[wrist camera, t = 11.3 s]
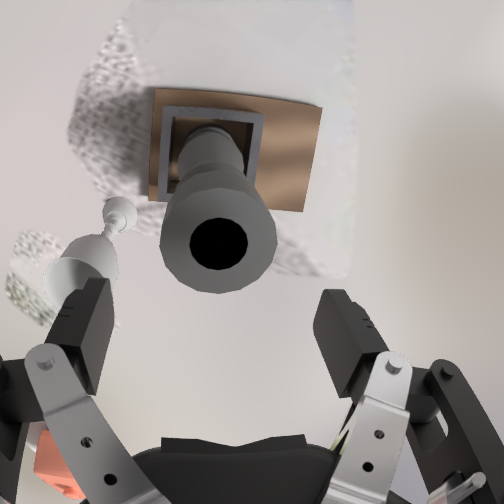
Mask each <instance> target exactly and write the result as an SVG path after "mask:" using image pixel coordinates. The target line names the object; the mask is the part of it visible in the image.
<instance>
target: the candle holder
mask: <svg viewBox="0 0 504 504" xmlns="http://www.w3.org/2000/svg"><path fill="white" fill-rule="evenodd" d="M243 170H244V163H243V157H242V154H241V152H240V151H239V149H238V148H237V146H236V143H235V141H234V140H233V138H232V137H231V135H230V133H229V132H228V131H227V130H226V129H224V128H223V127H221V126H220V125H216V124H210V123H208V124H203V125H199V126H197V127H196V128H194V129H193V130H191V131H190V132H189V134H188V135H187V137H186V138H185V140H184V143H183V147H182V152H181V153H180V155H179V160H178V165H177V171H178V175H179V180H180V182H179V183H178V185H177V186H176V191H175V193H174V194H173V196H172V197H171V199H170V200H169V202H168V205H167V209H166V213H165V216H164V220H163V224H162V230H161V238H160V246H159V247H160V250H161V253H162V256H163V260H164V263H165V266H166V267H167V268H168V269H169V271H170V272H171V273H172V274H173V275H174V276H175V277H176V278H177V280H178V281H179V282H181V283H183V284H185V285H187V286H189V287H191V288H193V289H195V290H197V291H201V292H208V293H216V294H220V293H226V292H231V291H236V290H240V289H242V288H244V287H245V286H247V285H249V284H251V283H252V282H254V281H256V280H257V279H259V278H260V276H261V275H262V274H263V273H264V272H265V270H266V269H267V268H268V267H269V266H270V264H271V263H272V260H273V257H274V254H275V250H276V247H277V244H278V243H277V235H276V227H275V222H274V220H273V218H272V216H271V214H270V212H269V210H268V209H267V207H266V205H265V203H264V201H263V199H262V198H261V196H260V195H259V193H258V191H257V190H256V188H255V187H254V185H253V184H251V183H250V182H249V181H248V179H247V178H246V176H245V175H244V173H243Z"/></svg>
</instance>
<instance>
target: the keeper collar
mask: <svg viewBox="0 0 504 504" xmlns="http://www.w3.org/2000/svg"><path fill="white" fill-rule="evenodd" d="M176 116H180V117H196V118H209V119H220V120H231V121H240V122H248V124H247V131H246V138H245V146H244V153H243V163H244V170H243V173H244V175H245V176H246V178H247V179H248V181H249V182H250V183H251V184H253V185H254V186H255V179H256V172H257V165H258V159H259V152H260V145H261V138H262V132H263V125H264V118H265V115H264V114H262V113H259V112H256V111H247V110H239V109H229V108H219V107H207V106H194V105H177V104H168V105H165V106H163V117H162V128H161V142H160V157H159V175H158V200H157V202H169V200H170V199H171V197H172V196H173V194H174V193H175V191H176V186H177V185H178V183H179V182H180V181H171V177H172V162H173V148H174V136H175V125H176Z"/></svg>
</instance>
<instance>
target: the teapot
mask: <svg viewBox="0 0 504 504" xmlns="http://www.w3.org/2000/svg"><path fill="white" fill-rule="evenodd" d="M34 473H35V474H37V475H38V476H39V477H40V478H42V480H43V481H44V482H46V483H47V484H50V485H51V486H52V487H54V488H55V489H57V490H58V491H60V492H61V493H63V494H64V495H65V496H66V497H68V498H72V499H79V498H81V499H85V498H86V497H85V495H84V493H83V492H82V490H81V489H80V487H79V485H78V484H77V482H76V480H75V479H74V477H73V475H72V473H71V472H70V470H69V468H68V466H67V464H66V463H65V461H64V459H63V457H62V455H61V453H60V451H59V449H58V447H57V445H56V443H55V441H54V439H53V437H52V435H51V433H50V431H49V430H42V432H41V435H40V438H39V441H38V446H37V451H36V457H35V463H34Z"/></svg>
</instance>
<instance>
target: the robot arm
mask: <svg viewBox="0 0 504 504" xmlns="http://www.w3.org/2000/svg"><path fill="white" fill-rule="evenodd" d="M113 326H114V307H113V300H112V292H111V283H110V279H109V278H101V277H89V278H88V280H87V282H86V284H85V286H84V288H83V290H81V289H75V290H74V291H73V292H72V293H71V294H69V295H68V296H67V297H66V299H65V301H64V303H63V305H62V308H61V309H60V311H59V313H58V316H57V317H56V319H55V321H54V323H53V325H52V327H51V329H50V331H49V333H48V336H47V338H46V340H45V342H44V344H40V345H37V346H35V347H34V348H32V349H31V350H30V351H29V352H28V353H27V355H26V357H25V358H24V359H17V360H8V361H3V359H2V357H1V355H0V504H15V502H16V494H17V486H18V479H19V473H20V467H21V462H22V457H23V451H24V446H25V442H26V437H27V433H28V428H29V424H30V422H38V421H45V422H46V425H47V427H48V429H49V431H50V433H51V435H52V437H53V439H54V441H55V443H56V445H57V447H58V449H59V451H60V453H61V455H62V457H63V459H64V461H65V463H66V464H67V466H68V468H69V470H70V472H71V473H72V475H73V477H74V479H75V480H76V482H77V484H78V485H79V487H80V489H81V490H82V492H83V493H84V495H85V497H86V498H85V499H84V500H83V501H82V502H81V503H80V504H411V503H409V502H408V501H406V500H405V499H403V498H402V497H400V496H398V495H397V494H395V493H394V492H392V491H391V490H389V489H390V486H391V483H392V480H393V477H394V473H395V470H396V467H397V463H398V460H399V456H400V453H401V449H402V445H403V441H404V437H405V434H406V436H407V439H408V441H409V444H410V446H411V449H412V451H413V454H414V456H415V458H416V461H417V464H418V467H419V469H420V472H421V475H422V477H423V480H424V482H425V485H426V488H427V491H428V493H429V498H428V500H427V504H504V445H503V444H502V442H501V440H500V438H499V436H498V434H497V432H496V430H495V429H494V427H493V425H492V423H491V421H490V420H489V418H488V416H487V414H486V412H485V411H484V409H483V407H482V406H481V404H480V402H479V400H478V399H477V397H476V395H475V394H474V392H473V390H472V389H471V387H470V386H469V384H468V382H467V381H466V379H465V377H464V376H463V374H462V372H461V371H460V369H459V368H458V367H457V366H456V365H455V364H453V363H452V362H450V361H447V360H444V359H439V360H436V361H434V362H433V363H432V365H431V367H430V368H429V369H424V368H416V367H412V366H411V363H410V362H409V361H408V359H406V358H405V357H404V356H403V355H401V354H398V353H396V352H392V351H390V350H389V349H388V347H387V346H386V344H385V342H384V340H383V339H382V337H381V335H380V334H379V332H378V331H377V329H376V328H375V327H374V324H373V322H372V321H371V320H370V318H369V316H368V314H367V313H366V311H365V310H364V309H363V308H362V307H361V306H359V305H358V304H357V303H356V302H352V301H351V300H350V298H349V296H348V295H347V293H346V291H345V290H343V289H325V290H324V291H323V293H322V296H321V299H320V302H319V305H318V308H317V312H316V315H315V318H314V322H313V331H314V336H315V338H316V341H317V343H318V346H319V348H320V350H321V353H322V356H323V358H324V361H325V363H326V366H327V368H328V371H329V373H330V376H331V378H332V381H333V383H334V386H335V388H336V391H337V393H338V396H339V398H347V397H351V399H352V403H351V405H350V407H349V409H348V411H347V414H346V416H345V418H344V420H343V423H342V425H341V427H340V430H339V432H338V434H337V436H336V438H335V440H334V442H333V444H332V446H331V448H330V449H327V448H324V447H321V446H318V445H313V444H307V443H306V439H305V435H304V434H302V435H293V436H280V437H270V438H267V439H264V440H260V441H256V442H253V443H250V444H245V445H242V446H238V447H233V446H228V445H222V444H217V443H213V442H208V441H204V440H199V439H180V438H161V447H157V448H152V449H148V450H145V451H143V452H140V453H138V454H136V455H134V456H132V457H131V456H130V454H129V453H128V452H127V450H126V449H125V447H124V446H123V445H122V443H121V442H120V440H119V439H118V438H117V436H116V435H115V433H114V432H113V430H112V429H111V427H110V426H109V424H108V423H107V421H106V420H105V418H104V417H103V415H102V413H101V412H100V410H99V409H98V407H97V405H96V404H95V402H94V400H93V399H92V398H91V396H88V395H95V396H96V392H97V388H98V384H99V380H100V375H101V371H102V367H103V363H104V359H105V355H106V351H107V348H108V344H109V341H110V337H111V334H112V330H113ZM87 394H88V395H87ZM439 411H441V413H442V415H443V417H444V419H445V421H446V423H447V425H448V435H447V437H446V436H445V433H444V431H443V429H442V427H441V425H440V423H439V421H438V419H437V417H436V415H437V413H438V412H439Z"/></svg>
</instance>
